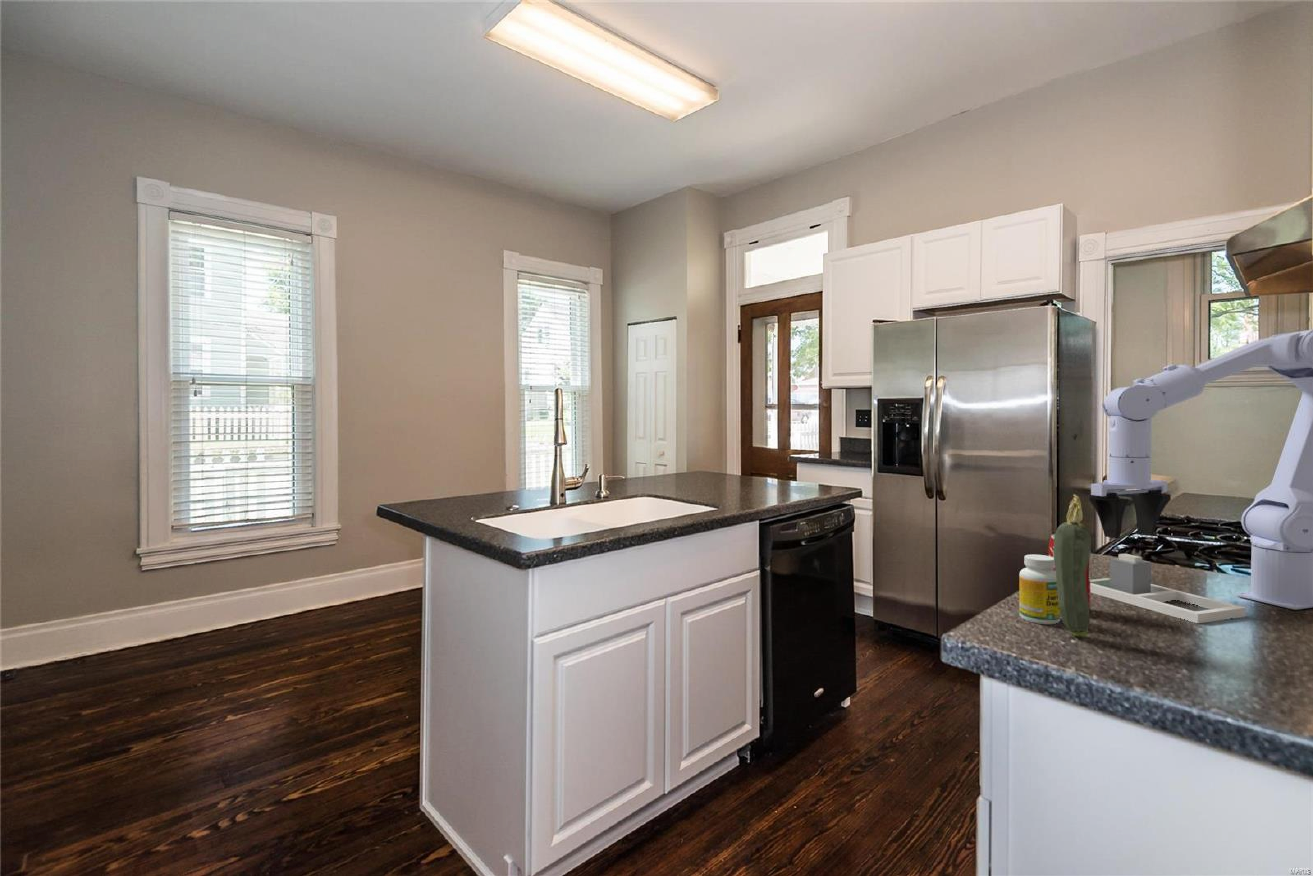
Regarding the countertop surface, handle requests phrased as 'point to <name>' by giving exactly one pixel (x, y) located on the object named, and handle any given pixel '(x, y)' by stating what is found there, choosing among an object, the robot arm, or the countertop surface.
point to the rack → (1166, 594)
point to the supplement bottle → (1038, 590)
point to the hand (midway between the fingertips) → (1129, 535)
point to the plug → (1130, 574)
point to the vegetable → (1073, 569)
